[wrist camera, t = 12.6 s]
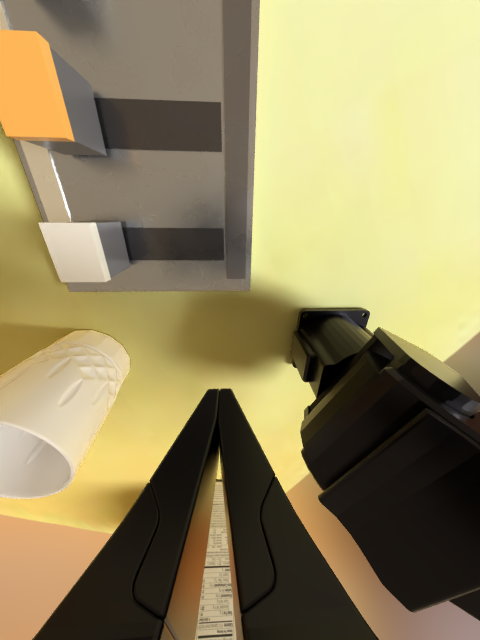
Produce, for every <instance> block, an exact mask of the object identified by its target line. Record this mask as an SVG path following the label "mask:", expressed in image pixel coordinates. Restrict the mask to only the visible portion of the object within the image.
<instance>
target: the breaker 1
mask: <svg viewBox="0 0 480 640" xmlns="http://www.w3.org/2000/svg"><path fill="white" fill-rule="evenodd" d="M0 121H1V124H2V126H3V129H4V132H5V134H6V136H7V137H10V138H13V139H16V140H23V141H26V142H29V143H32V144H35V145H38V146H41V147H44V148H46V149H49V150H52V151H55V152H58V153H61V154H64V155H99V156H107V155H106V151H105V146H104V141H103V137H102V132H101V128H100V123H99V119H98V114H97V110H96V105H95V100H94V96H93V91H92V87H91V84H90V83H89V82H88V81H87V80H85V79H84V78H83V77H82V76H81V75H80V74H79V73H78V72H77V71H76V70H75V69H74V68H72V67H71V66H70V65H69V64H68V63H67V62H66V61H65V60H64V59H63V58H62V57H61V56H59V55H58V54H57V53H56V52H55V51H54V50H53V49H52V48H51V47H50V46H49V43H48V42H47V41H46V40H45V39H44V38H43V37H42V36H41V35H40V34H39V33H37V32H36V31H19V30H0Z"/></svg>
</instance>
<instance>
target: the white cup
mask: <svg viewBox="0 0 480 640" xmlns="http://www.w3.org/2000/svg"><path fill="white" fill-rule="evenodd" d="M129 371H130V357H129V356H128V354H127V352H126V351H125V349H124V347H123V346H122V345H121V344H120V343H118V342H117V341H116V340H114V339H113V338H112V337H110V336H109V335H106V334H103V333H100V332H97V331H94V330H79V331H73V332H71V333H69V334H68V335H66V336H64V337H62V338H60V339H59V340H58V341H56V342H55V343H53V344H52V345H50V346H49V347H46V348H43V349H42V350H40V351H38V352H37V353H35V354H34V355H33V356H31V357H29V358H27V359H25V360H24V361H22V362H21V363H19V364H18V365H16V366H15V367H13V368H11V369H10V370H8V371H7V372H5V373H4V374H2V375H1V376H0V497H4V498H14V499H32V498H41V497H46V496H50V495H53V494H56V493H58V492H60V491H62V490H64V489H65V488H67V487H68V486H69V485H70V484H71V482H72V481H73V479H74V477H75V475H76V473H77V471H78V470H79V468H80V466H81V464H82V462H83V460H84V458H85V456H86V454H87V453H88V451H89V449H90V447H91V445H92V443H93V441H94V440H95V438H96V436H97V434H98V432H99V430H100V428H101V427H102V425H103V423H104V421H105V419H106V417H107V415H108V414H109V412H110V410H111V407H112V405H113V403H114V401H115V399H116V397H117V396H118V392H119V389H120V387H121V385H122V383H123V382H124V380H125V378H126V376H127V374H128V373H129Z"/></svg>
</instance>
